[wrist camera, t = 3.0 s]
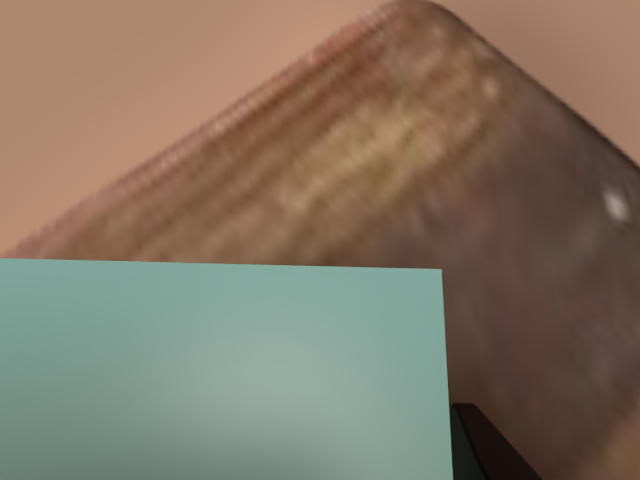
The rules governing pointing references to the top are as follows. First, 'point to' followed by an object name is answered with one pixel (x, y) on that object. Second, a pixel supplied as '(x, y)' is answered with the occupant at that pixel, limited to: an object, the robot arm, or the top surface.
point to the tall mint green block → (221, 372)
